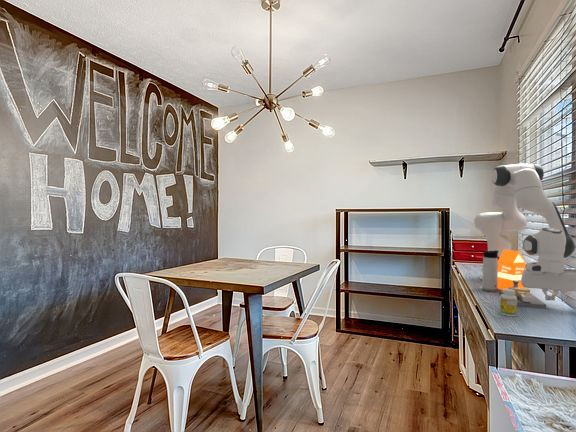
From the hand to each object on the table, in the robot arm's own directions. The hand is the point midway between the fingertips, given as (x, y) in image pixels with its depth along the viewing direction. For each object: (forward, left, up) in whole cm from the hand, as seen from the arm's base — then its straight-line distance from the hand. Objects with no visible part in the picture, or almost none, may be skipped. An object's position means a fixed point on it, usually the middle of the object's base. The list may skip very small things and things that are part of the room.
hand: (549, 299), depth 141 cm
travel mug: (-23, -18, -3) cm, 29 cm away
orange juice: (-28, -8, -3) cm, 29 cm away
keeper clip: (-5, -10, -1) cm, 11 cm away
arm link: (-7, -9, -1) cm, 11 cm away
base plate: (-7, -8, -3) cm, 12 cm away
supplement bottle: (+19, -19, -3) cm, 27 cm away
